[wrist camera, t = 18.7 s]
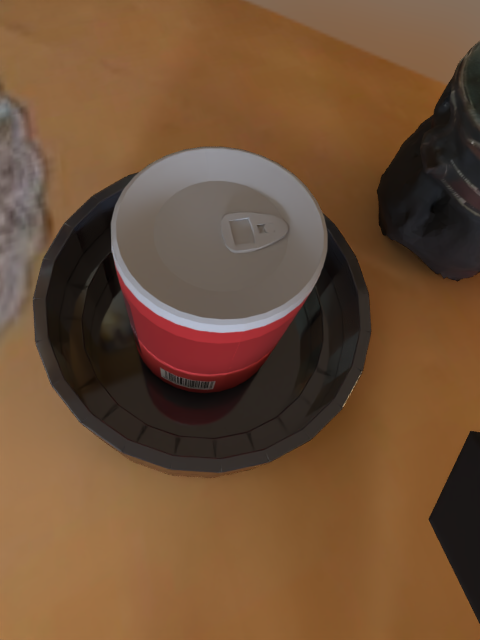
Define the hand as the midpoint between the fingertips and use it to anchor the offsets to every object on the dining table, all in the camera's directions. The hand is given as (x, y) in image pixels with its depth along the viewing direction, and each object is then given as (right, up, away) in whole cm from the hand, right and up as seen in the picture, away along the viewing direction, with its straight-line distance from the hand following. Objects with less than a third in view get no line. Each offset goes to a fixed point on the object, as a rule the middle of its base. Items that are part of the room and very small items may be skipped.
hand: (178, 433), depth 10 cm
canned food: (-1, +2, +16) cm, 16 cm away
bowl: (-1, +2, +17) cm, 17 cm away
